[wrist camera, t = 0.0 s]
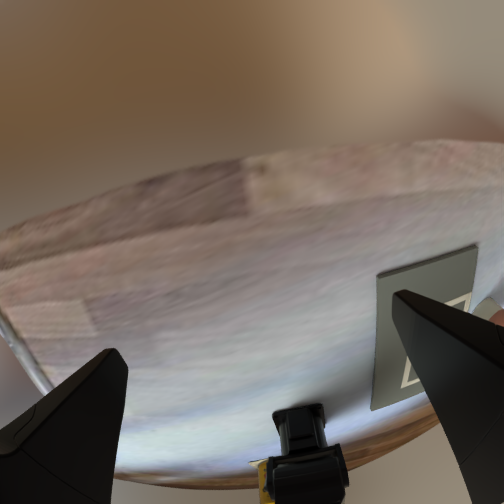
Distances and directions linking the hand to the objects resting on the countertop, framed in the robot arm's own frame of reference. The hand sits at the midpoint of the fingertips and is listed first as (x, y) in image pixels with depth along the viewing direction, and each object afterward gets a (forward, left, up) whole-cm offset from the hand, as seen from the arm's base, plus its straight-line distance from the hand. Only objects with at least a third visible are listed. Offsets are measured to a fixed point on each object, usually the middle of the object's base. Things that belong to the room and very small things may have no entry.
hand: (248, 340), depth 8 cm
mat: (-19, -17, -15) cm, 29 cm away
